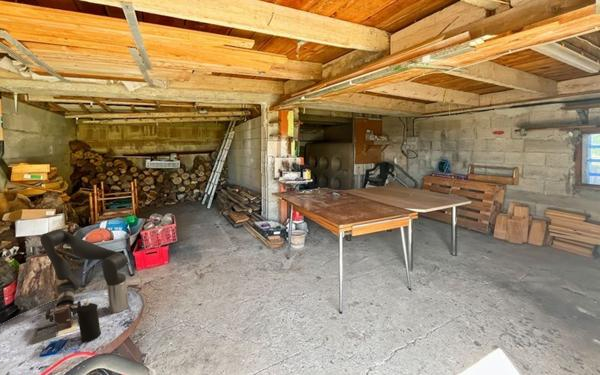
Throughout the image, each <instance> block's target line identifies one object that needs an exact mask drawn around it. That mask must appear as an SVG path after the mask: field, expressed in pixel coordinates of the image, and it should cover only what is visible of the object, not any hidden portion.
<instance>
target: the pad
mask: <svg viewBox="0 0 600 375" xmlns="http://www.w3.org/2000/svg"><path fill="white" fill-rule="evenodd" d="M78 325H79V321H78V318H76V319H72V327H71V328H68V329H64V330H61V331H57V337H58V336H62V335H65V334H68V333H72V332H74V331H77V330H78Z"/></svg>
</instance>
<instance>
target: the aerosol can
mask: <svg viewBox="0 0 600 375" xmlns="http://www.w3.org/2000/svg"><path fill="white" fill-rule="evenodd" d="M76 315H77V319H78V325H79V326H78V327H79V331H80V341H81V342H82V343H90V342H93V341H95V340H97V339H98V338H99V337H101V335H102V331H101V327H100V326H101V325H100V320H99V312H98V304H96V303H94V302H90V301H89V300H88V299H87V300H84V301H83V304H81V307H80V308H79V309H78V310H77V312H76Z"/></svg>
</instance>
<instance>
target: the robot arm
mask: <svg viewBox="0 0 600 375" xmlns="http://www.w3.org/2000/svg"><path fill="white" fill-rule="evenodd" d="M39 239H40V244H41V246H42V248H43V250H44V252H45V253H46V255H47V257H48V259H49V261H50V262H51V265H52V266H53V269H54V272H55V276H56V279H57V281H65V282H61V283H59V284H58V285H56V289H55V290H56V292H57V295H58V298H57V300H56V304H55V307H58V306H62V305H67V304H70V309H71V315H72V317H75V315H77V313H76V312H77V310H78V309H79V308H80V307H81V306H82V302H81V300H78V301H77V302H75V292H76V291H78V290H79V288H80V286H81V285H80V283H79V281H78V280H77V278H76V277H75V276H74V274H73V272H72V269H71V265H70V262H69V261H68V260H67V259H66V258H64V257H62V256H61V255H60V254H58V252H57V251H56V247H58V246H60V245H66V246H69V247H70V250H71V253H72V254H73V255H74V256H75V257H78V258H81V259H83V260H88V261H90V260H91V261H102V263H101V269H102V273H103V278H104V280H105V284H106V289H107V298H108V305H109V306H108V307H109V311H110V313H112V314H117V313H121V312H123V311H125V310H127V309H129V308H130V304H129V294H128V287H127V286H128V285H127V277H126V274H124V273H120V272H118V271H119V270H121V269H123V268H124V267H126V266H127V265H128V263H129V258H128V257H127V255H125V254H124V253H122V252H120V251H116V250H112V249H108V248H106V247H104V246H99V245H97V244H95V243H93V242H90V241H88V240H84V239H82V238H81V237H77V236H75V235H74V234H71V233H70V232H68V231H66V230H64V229H62V228H61V229H60V228H58V229H55V230H50V231H47V232H46V233H43V234H42V235H41V236H40V238H39ZM55 307H54V308H53V309H50V308H47V309H46V312H45V315H44V318H45V320H48V321H49V323H50V324H52V323H54V320H55V317H54V309H55Z"/></svg>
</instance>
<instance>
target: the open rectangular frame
mask: <svg viewBox="0 0 600 375" xmlns="http://www.w3.org/2000/svg"><path fill="white" fill-rule="evenodd" d="M53 327H54V328H55V327H56V323H55V322H52V323H49V324H46V325H43V326H38V327H35V328H34V330H33V334H32V338H31V341H30V344H31V346H33V345H35V344H36V345H37V344H39V343H41V342H46V341H47V340H51V339H54V338H57V337H58V334H57V330H52V331H50V332H46V333H43V334H39V335H38V332H40V331H44V330H47V329H51V328H53Z"/></svg>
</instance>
